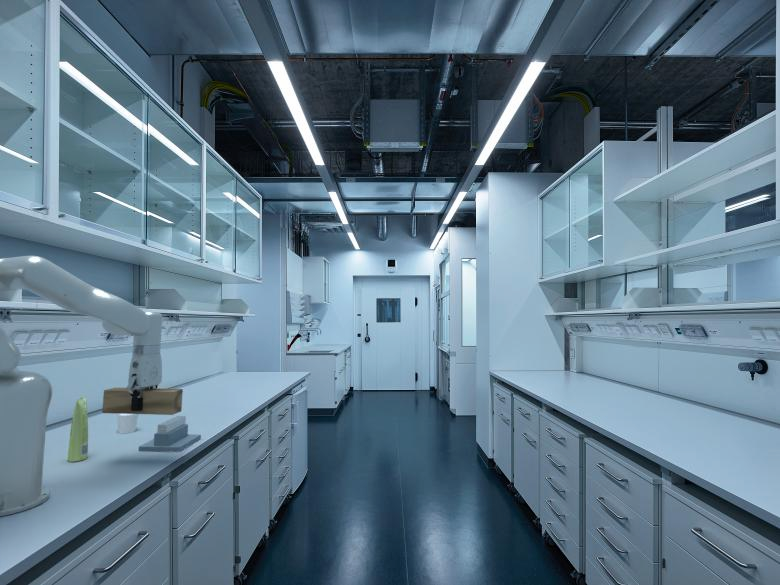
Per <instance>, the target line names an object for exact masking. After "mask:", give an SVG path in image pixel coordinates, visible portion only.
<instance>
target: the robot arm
mask: <svg viewBox="0 0 780 585" xmlns="http://www.w3.org/2000/svg"><path fill="white" fill-rule="evenodd" d="M17 290H18V291H19V290H27V291H29V292H31V293H33V294H35V295H36V296H38V297H41V298H43V299H45V300H46V301H48V302H50V303H52V304H54V305H56V306H58V307H59V308H61V309H64V310H66V311H68V312H70V313H74V314H77V315H83V316H88V317H92V318H96V319H99V320H101V324H102V328H103V329H104V331H105V332H106V333H108V334H110V335H114V336H129V337H130V336H131V337H133V340H132V352H131V353H132V355H131V356H132V357H131V360H130V365H129V370H128V377H127V378H128V381H127V382H128V384H127V386H126V387H125V388H126V390H127V391H128V392H129V394H130V395H131V396H130V397H131V398H132V401H131V411H142V406H143V398H141V397H142V393H143V389H144V388H157V389H158V387H159V385H160V384H161V383H162V379H163V378H162V377H163V364H162V363H163V362H162V355H161V346H162V330H163V314H162V313H161V312H156V311H143V309H141V308H139V307H137V306H136V305H134V303H131V302H129V301H128V300H125V299H124V298H121V297H119V296H117V295H114V294H113V293H110V292H107V291H105V290H103V289H101V288H98V287H96V286H93V285H91V284H89V283H87V282H85V281H84V280H82V279H80V278H79V277H77V276H75V275H73V274H72V273H70V272H68V271H66V270H65V269H64V268H62V267H60V266H59V265H56V264H55V263H54V262H51V261H50V260H48V259H46V258H45V257H41V256H37V255H22V256H15V257H14V256H13V257H4V258H3V257H2V258H0V293H4V292H10V291H17ZM21 358H22V353H21V351H20V349H19V346H18V345H16V343H15V342H14V341H13V339H11V337H10V335H8V333H7V332H6V331H5V329H4V328H3V327H2V326H1V325H0V517H1V516H2V517H4V516H7V515H13V514H17V513H20V512H24V511H27V510H29V509H32V508H35V507H37V506H39V505H41V504H43V503H44V502H46V501H47V500H48V499H49V497H50V493H51V492H50V490H49V489H47V488H43V478H44V476H43V475H44V474H43V473H44V460H45V449H46V448H45V443H46V431H47V428H46V427H47V420H48V413H49V409H50V405H51V402H52V397H53V386H52V383H51V382H50V380H49V379H48V378H47V377H46V376H44V375H42V374H40V373H37V372H33V371H25V370H20V369H19V368H18V366H19V364H20V362H21ZM137 390H139V392H138V391H137Z"/></svg>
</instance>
